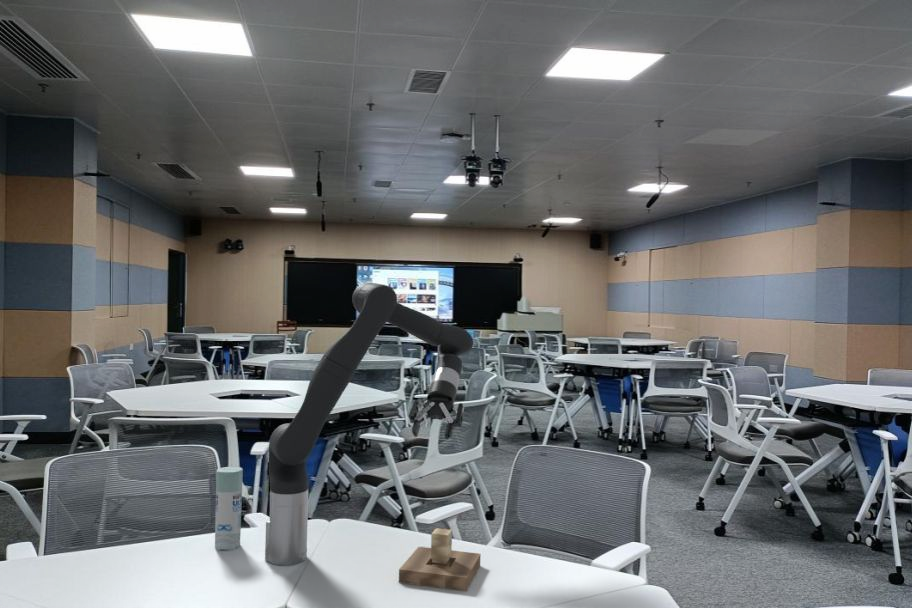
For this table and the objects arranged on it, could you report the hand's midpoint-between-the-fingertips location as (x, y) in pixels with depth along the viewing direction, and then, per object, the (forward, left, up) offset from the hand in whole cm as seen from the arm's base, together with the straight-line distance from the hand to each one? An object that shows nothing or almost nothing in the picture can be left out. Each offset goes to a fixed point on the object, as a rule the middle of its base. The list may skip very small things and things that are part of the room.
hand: (430, 436), depth 167 cm
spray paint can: (-51, -11, -30) cm, 61 cm away
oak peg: (+7, -12, -30) cm, 33 cm away
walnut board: (+7, -12, -30) cm, 33 cm away
